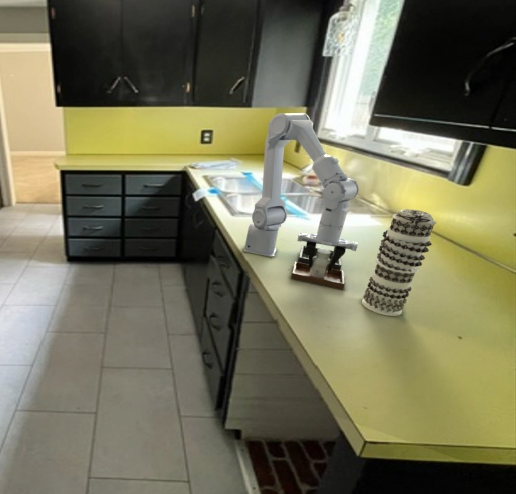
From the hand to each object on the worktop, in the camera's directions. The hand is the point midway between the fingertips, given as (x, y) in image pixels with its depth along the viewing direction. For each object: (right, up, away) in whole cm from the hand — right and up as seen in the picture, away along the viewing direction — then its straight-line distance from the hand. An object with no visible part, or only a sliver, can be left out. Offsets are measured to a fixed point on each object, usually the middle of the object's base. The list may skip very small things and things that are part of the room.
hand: (319, 267), depth 105 cm
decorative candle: (+9, -10, -13) cm, 18 cm away
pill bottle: (0, -2, +1) cm, 3 cm away
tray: (0, -3, +1) cm, 3 cm away
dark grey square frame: (+6, +1, +11) cm, 12 cm away
